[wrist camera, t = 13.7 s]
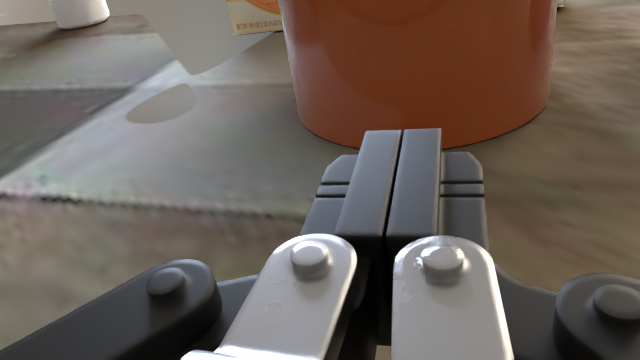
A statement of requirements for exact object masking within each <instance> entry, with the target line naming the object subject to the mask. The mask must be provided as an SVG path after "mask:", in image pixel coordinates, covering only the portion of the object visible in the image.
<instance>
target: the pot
mask: <svg viewBox="0 0 640 360" xmlns="http://www.w3.org/2000/svg"><path fill="white" fill-rule="evenodd" d="M557 1H558V0H278V4H279V10H280V16H281V21H282V27H283V32H284V38H285V44H286V49H287V55H288V60H289V66H290V72H291V77H292V83H293V88H294V94H295V99H296V105H297V111H298V115H299V118H300V120H301V122H302V123H303V125H304V126H305V127H306V128H307V129H308V130H310V131H311V132H313V133H314V134H316V135H317V136H319V137H322V138H324V139H326V140H328V141H331V142H334V143H337V144H341V145H345V146H350V147H354V148H361V145H362V142H363V139H364V135H365V132H366V131H375V130H403V135H404V130H405V129H428V128H442V149H445V148H452V147H457V146H463V145H468V144H472V143H476V142H480V141H484V140H488V139H491V138H494V137H497V136H500V135H503V134H505V133H507V132H509V131H512V130H514V129H516V128H518V127H520V126H522V125H523V124H525V123H527V122H529V121H530V120H531V119H533V118H534V117H535V116H537V115H538V114H539V113H540V112H541V110H542V109H543V108H544V107H545V105H546V103H547V101H548V99H549V95H550V85H551V73H552V61H553V49H554V37H555V25H556V13H557Z"/></svg>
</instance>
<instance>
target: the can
mask: <svg viewBox="0 0 640 360" xmlns="http://www.w3.org/2000/svg"><path fill="white" fill-rule="evenodd" d="M48 2H49V4H50V7H51V9H52V12H53V14H54V17H55V19H56V22H57V24H58V26H59V27H61V28H62V29H77V28H83V27H87V26H91V25H95V24H98V23H100V22H103V21H105V20H107V19H108V16H109V10H108V8H107V4H106V1H105V0H48Z"/></svg>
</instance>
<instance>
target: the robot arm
mask: <svg viewBox="0 0 640 360" xmlns="http://www.w3.org/2000/svg"><path fill="white" fill-rule="evenodd" d="M320 184H321V185H320V186H319V187H318V190H317V193H316V198H314V200H313V203H312V205H311V208H310V210H309V213H308V215H307V218H306V220H305V223H304V225H303V228H302V230H301V233H300V236H299V237H297V238H294V239H291V240H289V241H287V242H285V243H284V244H282V245H281V246H279V247H278V248H277V249H276V250H275V251H274V252H273V253H272V254H271V255H270V257H269V258H268V260H267V262H266V264H265V265H264V267H263V269H262V271H261V273H258V274H255V275H251V276H247V277H242V278H237V279H232V280H227V281H222V282H217V283H216V280H215V277H214V274H213V272H212V270H211V268H210V267H209V266H208V265H206V264H205V263H203V262H200V261H197V260H191V259H180V260H174V261H169V262H165V263H162V264H160V265H157V266H155V267H153V268H151V269H149V270H147V271H145V272H143V273H142V274H140V275H138V276H136V277H134V278H132V279H131V280H129V281H127V282H125V283H123V284H121V285H120V286H118V287H116V288H114V289H112V290H111V291H109V292H107V293H105V294H103V295H101V296H100V297H98V298H96V299H94V300H92V301H90V302H89V303H87V304H85V305H83V306H81V307H79V308H78V309H76V310H74V311H72V312H70V313H68V314H67V315H65V316H63V317H61V318H59V319H57V320H56V321H54V322H52V323H50V324H48V325H47V326H45V327H43V328H41V329H39V330H37V331H36V332H34V333H32V334H30V335H28V336H26V337H25V338H23V339H21V340H19V341H17V342H15V343H14V344H12V345H10V346H8V347H6V348H4V349H3V350H1V351H0V360H375V354H376V347H377V345H386V346H391V360H640V280H639V279H635V278H632V277H629V276H624V275H619V274H610V273H594V274H587V275H583V276H579V277H576V278H574V279H572V280H570V281H569V282H567V283H566V284H564V285H563V287H562V288H561V289H560V290H559V292H555V291H551V290H547V289H543V288H539V287H536V286H532V285H529V284H526V283H524V282H521V281H519V280H517V279H515V278H513V277H511V276H510V275H508V274H507V273H506V272H504V271H503V270H502V269H501V268H500V267H499V266H498V265H497V264H496V263H495V262H494V260H493V259H492V256H491V254H490V251H489V243H488V231H487V220H486V208H485V198H484V185H483V174H482V165H481V164H480V163H479V162H478V160H477V159H476V158H475V157H474V156H473V155H472V154H471V153H470V152H443V151H442V128H428V129H405V130H404V135H403V130H375V131H366V132H365V135H364V139H363V142H362V145H361V148H360V151H359V154H355V155H340V156H339V157H338V158H337V159H336V160H335V161H334V162H332V163H331V164H330V165H329V166H328V167H327V168H326V170H325V172H324V175H323V177H322V180H321V182H320Z"/></svg>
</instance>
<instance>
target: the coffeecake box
mask: <svg viewBox="0 0 640 360" xmlns="http://www.w3.org/2000/svg"><path fill="white" fill-rule="evenodd" d="M226 2H227V7H228V11H229V16H230V20H231V25H232V29H233V33H234V36H237V35H246V34H255V33H263V32H272V31H280V30H283V27H282V21H281V16H280V10H279V4H278V0H226Z"/></svg>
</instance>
